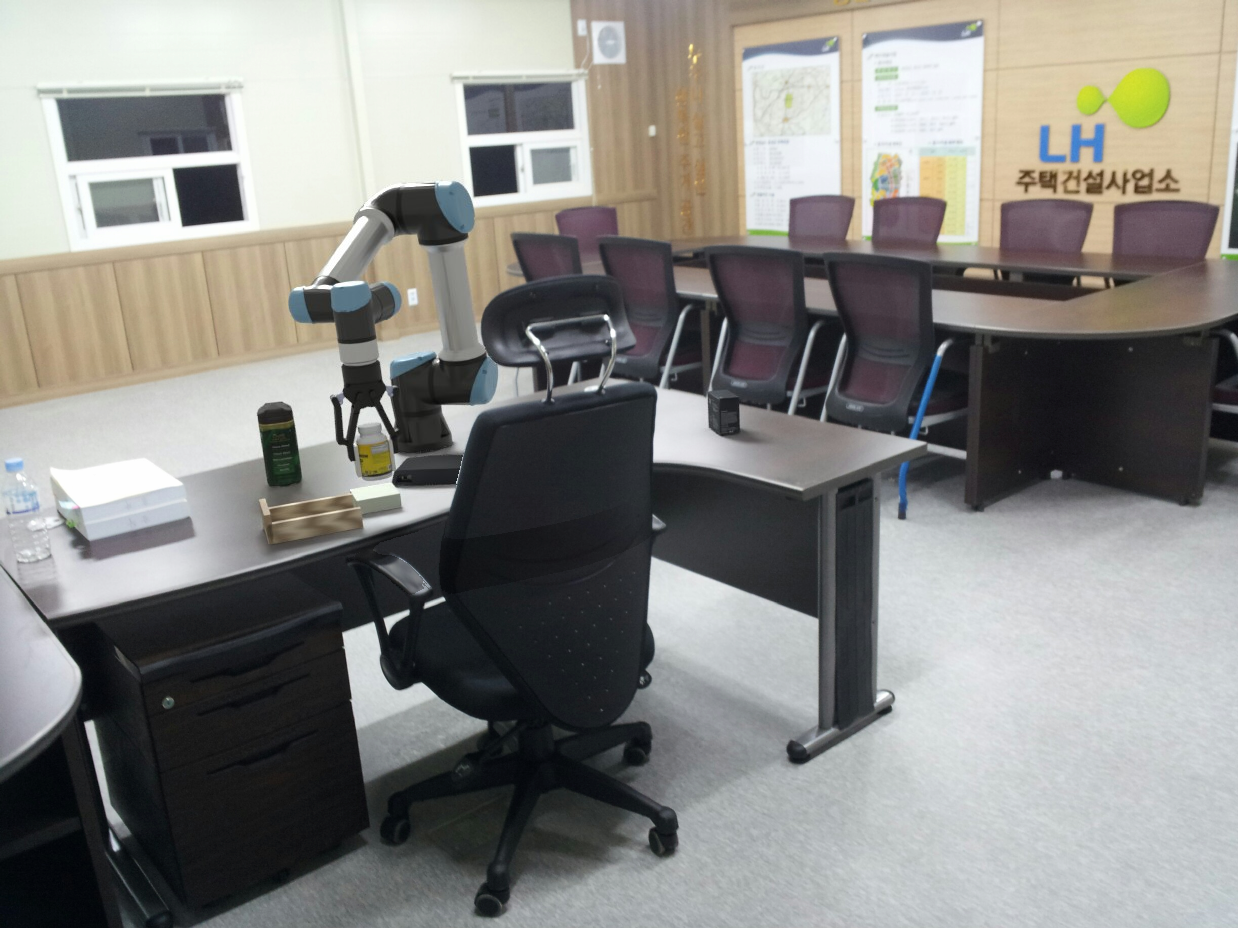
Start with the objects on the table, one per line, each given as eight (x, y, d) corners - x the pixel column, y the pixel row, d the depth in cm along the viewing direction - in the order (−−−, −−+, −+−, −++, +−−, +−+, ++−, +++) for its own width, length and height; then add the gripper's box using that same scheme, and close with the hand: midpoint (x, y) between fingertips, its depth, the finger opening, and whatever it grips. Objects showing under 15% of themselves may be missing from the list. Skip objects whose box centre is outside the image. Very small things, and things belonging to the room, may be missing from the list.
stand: (393, 495, 235) (391, 482, 234) (401, 506, 226) (400, 493, 226) (351, 502, 231) (349, 489, 230) (358, 514, 223) (356, 501, 222)
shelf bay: (353, 511, 226) (350, 483, 224) (363, 527, 216) (359, 498, 214) (263, 527, 219) (258, 499, 218) (268, 544, 209) (264, 515, 207)
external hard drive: (406, 471, 253) (404, 454, 252) (487, 468, 251) (486, 451, 250) (390, 488, 241) (388, 471, 240) (475, 486, 239) (473, 468, 238)
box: (741, 433, 265) (740, 396, 263) (719, 436, 264) (718, 398, 262) (728, 425, 274) (727, 388, 271) (707, 427, 273) (706, 391, 270)
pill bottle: (357, 478, 221) (349, 425, 218) (386, 472, 224) (378, 420, 221) (368, 483, 216) (359, 429, 213) (397, 476, 219) (389, 423, 216)
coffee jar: (304, 485, 246) (292, 406, 241) (268, 490, 244) (255, 410, 238) (302, 474, 255) (290, 397, 249) (267, 479, 253) (255, 401, 247)
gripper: (404, 351, 220) (418, 459, 227) (308, 365, 213) (325, 475, 220) (412, 357, 213) (426, 468, 220) (313, 372, 206) (331, 486, 213)
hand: (376, 472), depth 220 cm, fingers closed on pill bottle, 6 cm apart
